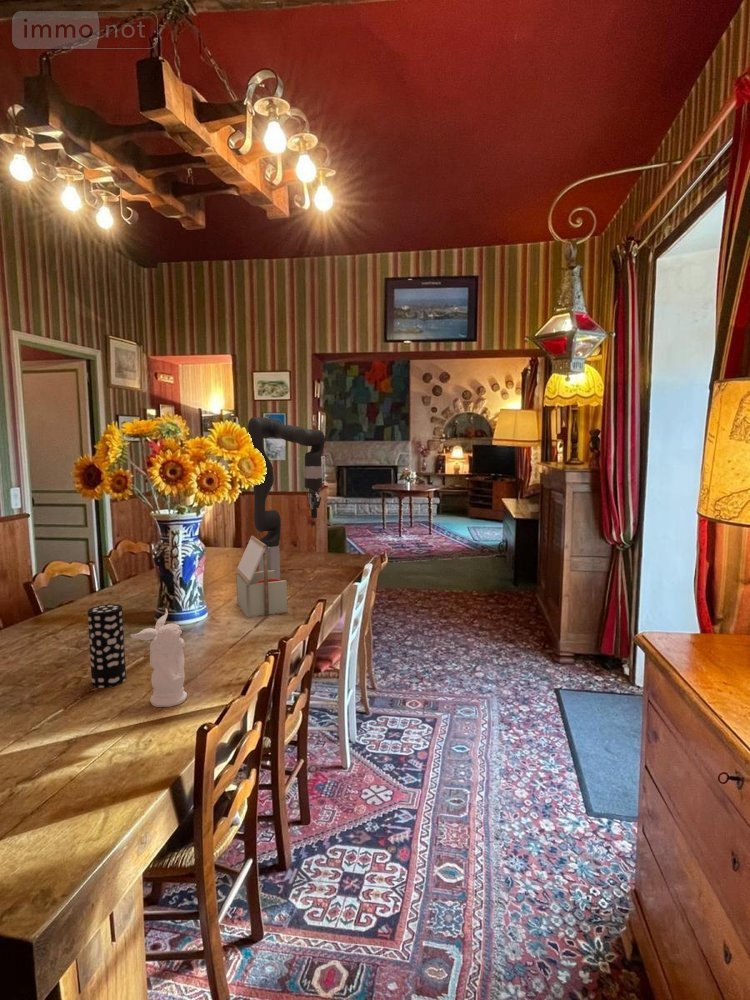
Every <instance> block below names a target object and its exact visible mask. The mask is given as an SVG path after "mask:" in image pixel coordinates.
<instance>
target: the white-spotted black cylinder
mask: <svg viewBox="0 0 750 1000" xmlns="http://www.w3.org/2000/svg"><path fill="white" fill-rule="evenodd" d="M87 623H88V639H89V641H88V642H89V658H90V659H89V661H90V674H91V675H90V676H91V686H92V687H94V688H98V689H106V688H112V687H116V686H119V685H121V684H122V683H125V681H126V680H127V672H126V669H127V668H126V667H127V666H126V654H125V650H126V649H125V636H124V634H125V633H124V615H123V606H122V605H120V604H118V603H117V604H116V603H115V604H114V603H110V604H109V603H108V604H102V605H100V604H99V605H97V606H93V607H90V608H89V609H88V610H87Z"/></svg>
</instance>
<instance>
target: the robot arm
mask: <svg viewBox="0 0 750 1000" xmlns="http://www.w3.org/2000/svg"><path fill="white" fill-rule="evenodd" d="M247 422H248V423H247V433H248V432H249V434H250V435H251V438H252V442H253V445H254V447H255V448H257V449H258V450H259V451H260V452H261V453H262V455H263V456H264V458H265V461H266V467H267V474H266V477H265V481H264V483H262V484H260V485H256V486H254V485H253V494H254V495H253V496H254V499H253V505H254V507H253V513H254V514H253V521H254V527H255V529H256V531H258V532H259V533H260V532H261V533H262V532H267V533H266V534H265V535H264V536H263V537H261V538H259V539H258V540H259V541H261V542H262V543H264V544H265V545H267V547H266V549H265V550H264V553H267V564H268V571H271V570H274V579H279V580H281V560H280V559H281V556H280V555H281V554H280V541H281V526H282V525H281V521H282V520H281V514H280V512H279V511H277V510H275V509H270V510H266V500H267V497H268V496H269V493H270V492H271V489H272V487H273V486H274V480H275V478H274V476H275V475H274V466H273V463H272V462H271V460H270V458H269V456H268V455H267V453H266V451H265V448H264V444H263V443H264V441H263V439H267V438H268V439H269V438H280V439H282V440H284V441H286V442H290V443H293V444H294V443H295V444H299V445H301V446H304V447H310V451H308V452H306V453H305V454H304V488H305V489H307V490H308V493H307V494H306V498H307V499H306V500H307V504H308V507H309V509H310V518H312V519H317V518H318V509H319V508H320V504H321V500H322V497H321V496H320V491H319V489H322V488H323V467H322V455H323V452H324V446H325V443H326V437H325V435H324V432H323V431H322V430H321V429H308V428H307V429H306V428H304V427H300V426H296V425H290V424H283V423H280V422H277V421H275V420H272V419H270V418H268V417H258V416H255V417H254V416H253V417H251V418H250V419H249V420H248V421H247ZM258 566H259V567H258V568H259V571H258V572H261V571H264V560H263V555H262V557H261V560H260V562H259V564H258Z"/></svg>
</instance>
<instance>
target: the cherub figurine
mask: <svg viewBox="0 0 750 1000" xmlns="http://www.w3.org/2000/svg"><path fill="white" fill-rule="evenodd" d="M167 608H168V607H167ZM167 608H166V607H165V612H164V613H165V614H163V615H162V616H161V617H159V618H158V619H157V621H156V622H155V626H154V628H151V627H148V628H144V629H142V630H141V631H139V632H138V633H134V634H133V633H130V638H132V639H134V640H143V641H150V640H151V642H150V644H149V651H150V653H149V666H150V667H151V668H153V671H152V674H151V679H150V681H151V686H152V688H153V690H152V691H153V692H152V695H151V696H150V699H149V702H150V704H151V706H154V707H155V708H156V707H157V708H163V707H164V708H171V707H175V706H178V705H181V704H182V703H184V702H185V701H186V700H187V699H188V693H187V692H186V691H185V688H184V683H185V679H186V678H185V677H186V674H185V669H184V668H185V662H186V659H185V655H184V649H183V648H184V647H185V646H186V642H185V640H184V639H183V638H182V637H181V634H182V633H183V630H181V629H182V628H181V627H180V625H179V624H176V623H167V624H166V620H167V618H168V616H169V615H168V614H169V612H168V611H169V610H168V609H167Z"/></svg>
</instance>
